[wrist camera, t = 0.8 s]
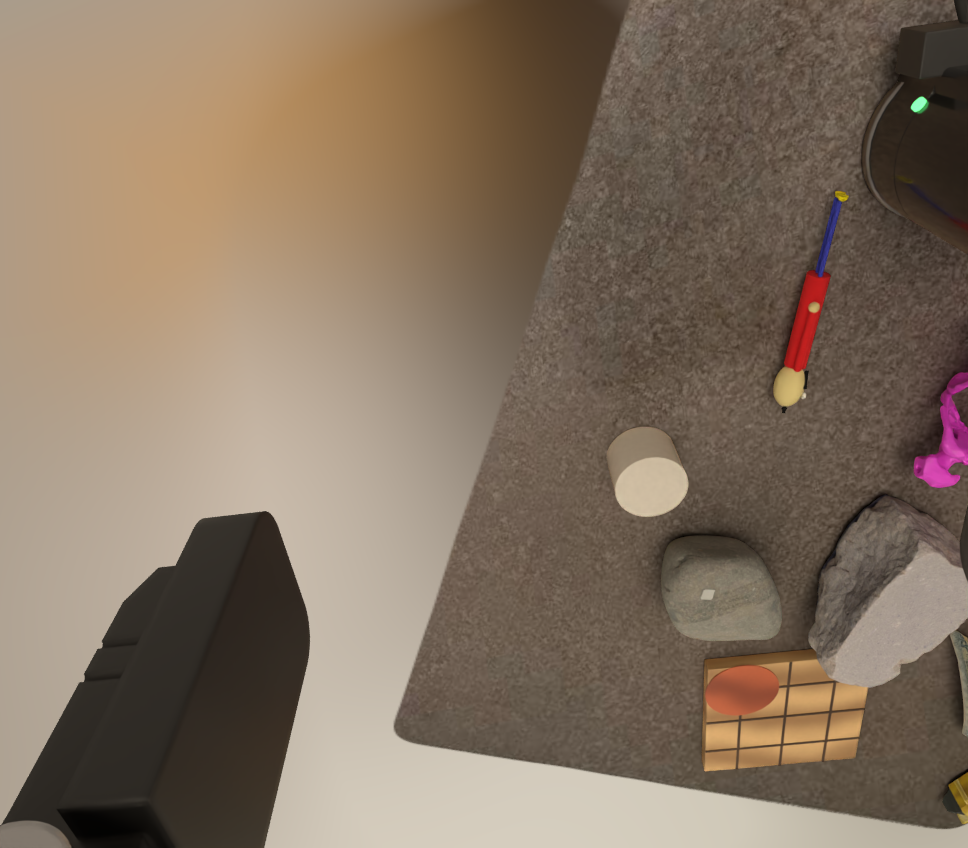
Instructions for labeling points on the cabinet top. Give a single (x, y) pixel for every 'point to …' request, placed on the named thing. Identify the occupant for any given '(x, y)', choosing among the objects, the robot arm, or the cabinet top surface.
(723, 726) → the board
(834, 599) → the decorative stone
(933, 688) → the cabinet top surface
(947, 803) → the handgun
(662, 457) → the cream short cylinder
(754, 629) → the stone
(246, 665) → the robot arm
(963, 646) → the ceramic fragment
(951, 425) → the pelvis
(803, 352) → the red screwdriver
